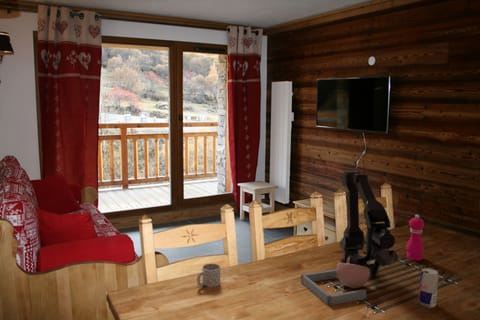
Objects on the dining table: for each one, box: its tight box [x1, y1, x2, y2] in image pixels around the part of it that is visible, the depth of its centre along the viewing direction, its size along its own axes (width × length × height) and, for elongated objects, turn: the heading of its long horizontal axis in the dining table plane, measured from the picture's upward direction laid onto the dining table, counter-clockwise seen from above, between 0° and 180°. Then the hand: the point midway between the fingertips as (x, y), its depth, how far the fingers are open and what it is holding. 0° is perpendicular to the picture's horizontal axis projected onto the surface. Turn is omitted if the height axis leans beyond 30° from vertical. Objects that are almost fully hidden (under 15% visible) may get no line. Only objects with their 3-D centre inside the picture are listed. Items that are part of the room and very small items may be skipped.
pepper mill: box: [405, 214, 425, 262], centre depth 181 cm, size 7×7×20 cm
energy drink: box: [418, 267, 439, 309], centre depth 140 cm, size 5×5×12 cm
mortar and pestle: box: [335, 257, 370, 289], centre depth 153 cm, size 12×12×12 cm
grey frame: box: [300, 269, 367, 306], centre depth 151 cm, size 19×15×3 cm
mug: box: [196, 263, 221, 288], centre depth 154 cm, size 10×7×7 cm, turn 135°
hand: (372, 279), depth 157 cm, fingers closed
